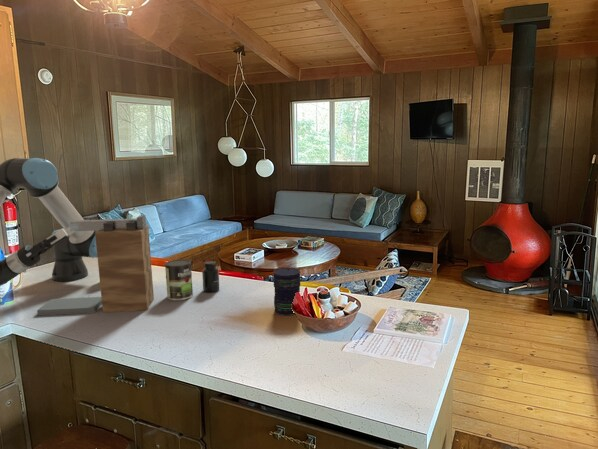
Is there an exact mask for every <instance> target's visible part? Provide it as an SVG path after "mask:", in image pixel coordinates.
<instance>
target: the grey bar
mask: <svg viewBox="0 0 598 449" xmlns="http://www.w3.org/2000/svg"><path fill="white" fill-rule="evenodd" d="M146 218H147V217H146V215H139V216H137V217H136V218H112V219H110V218H107V219H84V220H73V221H71V222H70V231H71V232H72V231H101V230H104V225H103V223H113V230H127V228H126V222H135V223H136V229H138V230H142V229H144V228H146V225H147V222H146V221H147V220H146Z"/></svg>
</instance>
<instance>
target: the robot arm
mask: <svg viewBox="0 0 598 449" xmlns="http://www.w3.org/2000/svg"><path fill="white" fill-rule="evenodd" d="M58 174H59V173H58V170H57V167H56V166H55V165H54V164H53V163H52V162H51V161H50V160H48V159H44V158H39V157H33V158H32V157H31V158H30V157H29V158H27V157H25V158H20V157H19V158H18V157H16V158H15V157H13V158H9V159H6V160H4V161H3V162H1V163H0V207H1V206H2V205H3V203H4V201H5V200H6V198H8V197H10V196H12V194H13V193H14V191H15V190H17V189H24V190H25V191H26V192H27V193H28V194H29V196H30V197H31V198H35V199H39V201H40V202H41V203H42V204H43V206H44V207H45V208H46V209H47V211H49V213H50V214H51V215H52V216H53V217H54V218H55V220H56V221H57V222H58V223H59V225H60V226H61V227H62V228H60V229H56V230H53V231H52V233H51V235H49V236H48V237H47V238H46V239H43V240H42V241H39V242H38V243H37V244H34V245H33V246H32V245H30V244H26V245H24V246H22V247H20V249H18V250H16V251H14V252H13V253H11V254H10V255H8V256H6V257H5V258H4V259H1V260H0V287H1V286H4V285H5V284H6V285H7V283H8V282H10V281H11V280H12V279H14V278H16V277H17V276H19V275H21V274H22V273H27V270H28V269H30V268H31V267H33V266H34V265H36V264H38V263H40V262H41V255H43V254H45V253H46V252H47V250H50V249H51V248H52V250H53V251H52V252H53V257H54V258H53V259H54V264H53V268H52V271H51V278H52V281H55V282H68V281H69V282H70V281H75V280H79V279H83V278H86V277H88V275H89V272H88V267H87V266H86V264H85V262H84V258H91V259H94V258H96V259H98V257H97V247H96V237H95V233H96V232H97V231H72V232H71V231H70V222H71V221H73V220H85V219H84V218H83V217H82V215H81V214H80V213H79V212H78V210H77V209H76V208H75V206H74V205H73V204H72V202H70V199H68V197H67V196H66V194H64V192H63V191H62V190H61V188H60V187H59V175H58Z"/></svg>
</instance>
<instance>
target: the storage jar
mask: <svg viewBox="0 0 598 449" xmlns="http://www.w3.org/2000/svg"><path fill="white" fill-rule="evenodd" d="M272 274H273V278H272V279H273V288H274V296H273V306H274V313H275V314H277V315H280V316H286V317H287V316H294V313H293V311H292V309H291V304H292V302H293V299H294V296H295V293H296V292H300V290H301V289H300V288H301V270H300V269H299V268H295V267H281V268H277V269H275V270H273V273H272Z"/></svg>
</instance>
